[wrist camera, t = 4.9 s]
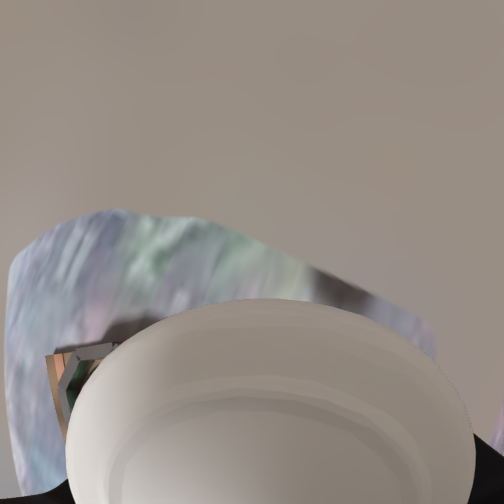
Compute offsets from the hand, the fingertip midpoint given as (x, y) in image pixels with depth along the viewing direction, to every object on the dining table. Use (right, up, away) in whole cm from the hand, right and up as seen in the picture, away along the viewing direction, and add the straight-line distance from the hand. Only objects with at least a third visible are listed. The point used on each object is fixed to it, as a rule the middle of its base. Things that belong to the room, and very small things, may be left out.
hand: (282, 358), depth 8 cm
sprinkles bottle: (+1, -3, +7) cm, 7 cm away
